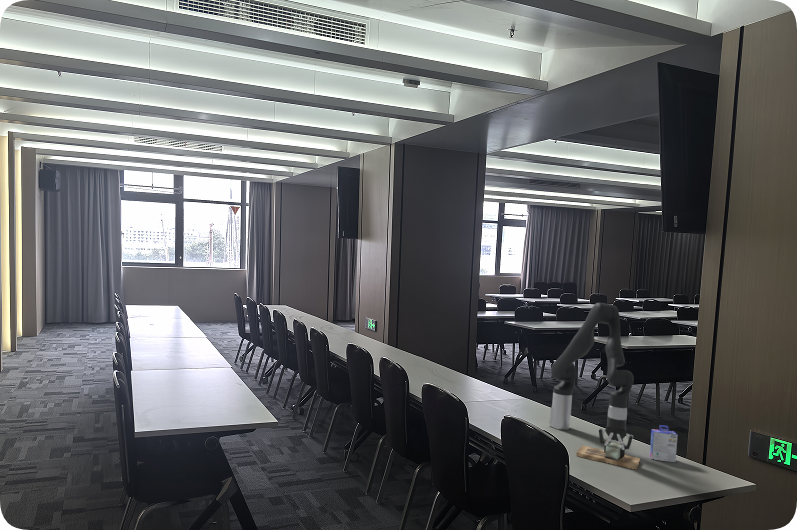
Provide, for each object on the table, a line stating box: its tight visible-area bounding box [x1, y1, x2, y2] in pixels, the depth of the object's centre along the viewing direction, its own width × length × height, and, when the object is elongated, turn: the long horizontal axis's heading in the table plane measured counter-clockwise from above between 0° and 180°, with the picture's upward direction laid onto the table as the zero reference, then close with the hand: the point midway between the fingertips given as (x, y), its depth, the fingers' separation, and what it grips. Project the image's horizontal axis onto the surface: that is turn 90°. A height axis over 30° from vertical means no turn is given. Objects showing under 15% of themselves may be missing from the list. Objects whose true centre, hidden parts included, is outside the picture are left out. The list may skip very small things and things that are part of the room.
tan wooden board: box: [575, 445, 641, 471], centre depth 236 cm, size 24×12×2 cm, turn 60°
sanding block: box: [605, 442, 622, 461], centre depth 235 cm, size 5×9×4 cm, turn 143°
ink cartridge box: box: [649, 424, 679, 463], centre depth 241 cm, size 10×6×14 cm, turn 78°
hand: (614, 455), depth 235 cm, fingers closed on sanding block, 5 cm apart
